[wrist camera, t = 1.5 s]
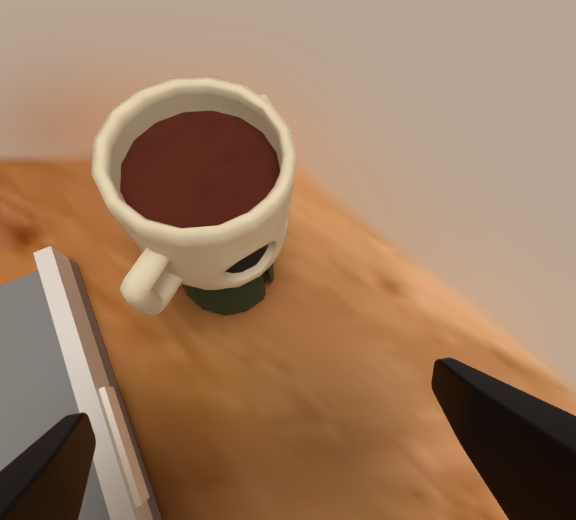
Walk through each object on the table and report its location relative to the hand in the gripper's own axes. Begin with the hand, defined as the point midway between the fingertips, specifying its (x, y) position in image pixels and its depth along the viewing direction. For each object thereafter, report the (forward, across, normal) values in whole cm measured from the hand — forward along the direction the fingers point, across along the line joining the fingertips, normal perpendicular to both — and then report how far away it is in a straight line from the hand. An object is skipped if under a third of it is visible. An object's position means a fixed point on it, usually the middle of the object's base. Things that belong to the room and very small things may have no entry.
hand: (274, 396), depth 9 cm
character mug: (+16, +1, +3) cm, 16 cm away
